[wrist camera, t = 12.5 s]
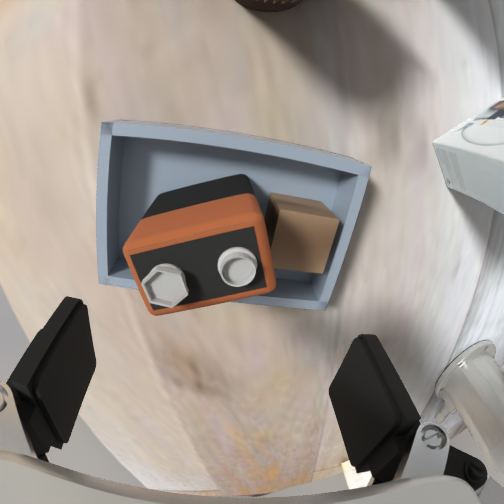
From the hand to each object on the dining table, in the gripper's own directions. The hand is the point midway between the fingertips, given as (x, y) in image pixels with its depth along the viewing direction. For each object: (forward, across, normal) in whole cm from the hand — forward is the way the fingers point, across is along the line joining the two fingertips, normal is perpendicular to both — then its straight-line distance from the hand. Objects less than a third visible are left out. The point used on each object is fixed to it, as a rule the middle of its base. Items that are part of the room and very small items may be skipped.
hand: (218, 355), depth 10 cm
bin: (+15, 0, 0) cm, 15 cm away
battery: (+14, +1, 0) cm, 14 cm away
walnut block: (+14, -5, 0) cm, 15 cm away
